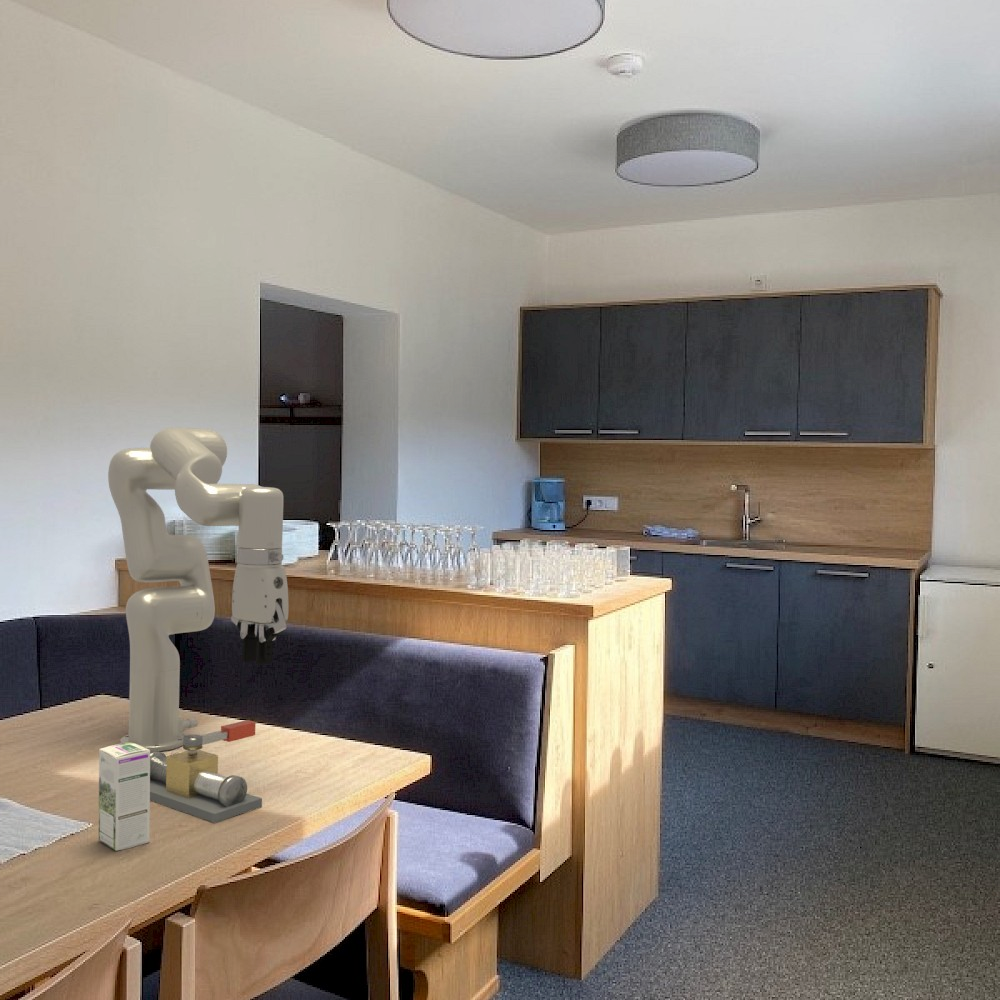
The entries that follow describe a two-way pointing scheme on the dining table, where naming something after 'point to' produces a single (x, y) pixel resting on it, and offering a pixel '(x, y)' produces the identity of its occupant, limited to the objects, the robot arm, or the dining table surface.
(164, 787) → the slate board
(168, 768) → the valve pipe
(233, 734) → the valve lever
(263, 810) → the dining table surface
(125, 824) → the syrup box
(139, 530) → the robot arm
